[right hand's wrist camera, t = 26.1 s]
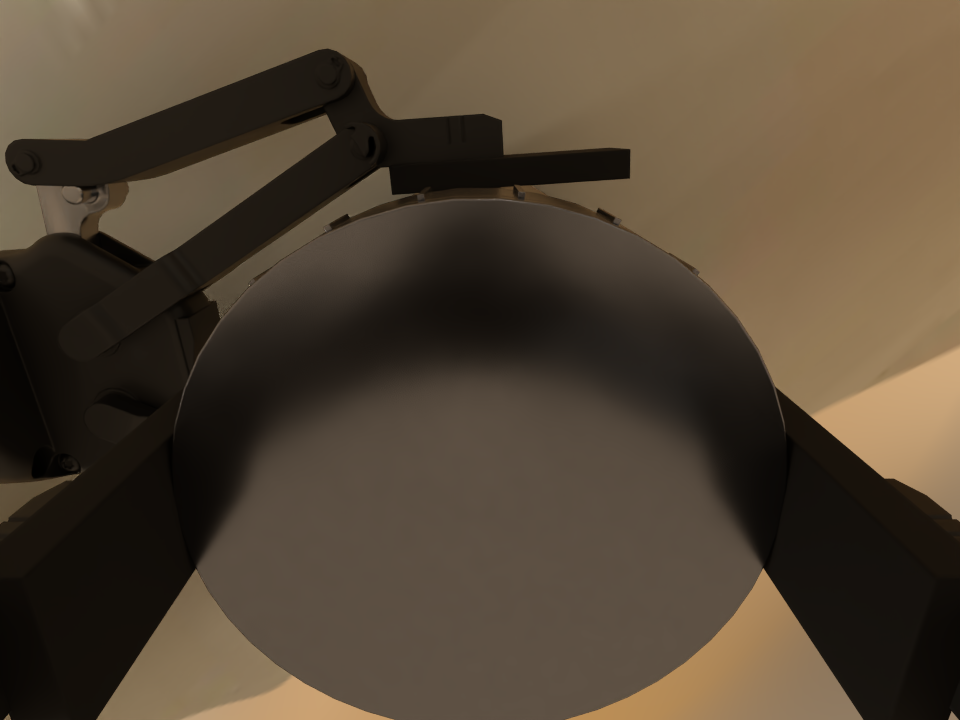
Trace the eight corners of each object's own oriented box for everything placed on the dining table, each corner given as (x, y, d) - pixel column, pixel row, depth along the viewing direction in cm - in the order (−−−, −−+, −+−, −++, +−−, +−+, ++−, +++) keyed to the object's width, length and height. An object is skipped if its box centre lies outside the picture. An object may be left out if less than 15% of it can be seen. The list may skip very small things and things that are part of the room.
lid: (101, 393, 12) (29, 440, 10) (570, 49, 10) (592, 28, 8) (420, 718, 15) (412, 801, 13) (828, 512, 13) (888, 576, 11)
